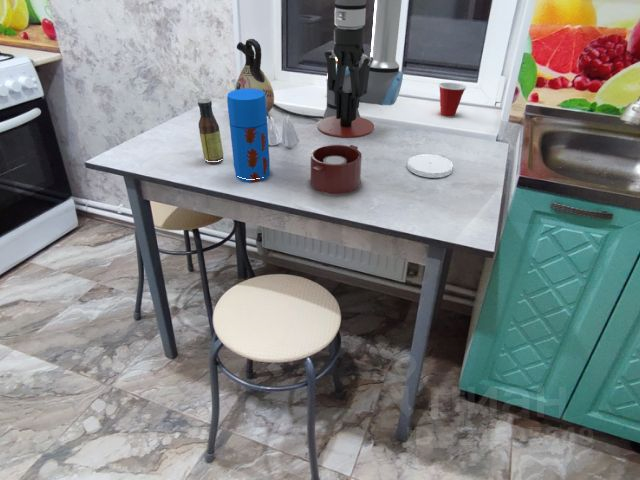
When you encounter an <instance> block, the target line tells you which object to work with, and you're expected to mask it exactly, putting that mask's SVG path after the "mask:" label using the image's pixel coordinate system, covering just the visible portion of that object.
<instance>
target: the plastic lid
mask: <svg viewBox="0 0 640 480" xmlns="http://www.w3.org/2000/svg"><path fill="white" fill-rule="evenodd" d="M406 167H407V169H408V171H410V172H411V173H412V174H415V175H417V176H419V177H424V178H429V179H430V178H433V179H434V178H435V179H438V178H440V179H441V178H445V177H447V176H450V175H451V174H452V173H453V170H454V164H453V162H452V161H451V160H450V159H449V158H446V157H444V156H441V155H437V154H432V153H431V154H429V153H428V154H427V153H423V154H416V155H413V156H411V157H409V158H408V160H407V165H406Z"/></svg>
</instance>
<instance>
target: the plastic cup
mask: <svg viewBox="0 0 640 480" xmlns="http://www.w3.org/2000/svg"><path fill="white" fill-rule="evenodd" d="M438 86H439V107H440V108H439V109H440V110H439V112H440V115H441V116H442V117H446V118H447V117H448V118H452V117H455V116H456V114H457V110H458V108H459V106H460V102H461V100H462V97H463V95H464V92H465V90H467V85H464V84H461V83H457V82H439V84H438Z"/></svg>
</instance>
